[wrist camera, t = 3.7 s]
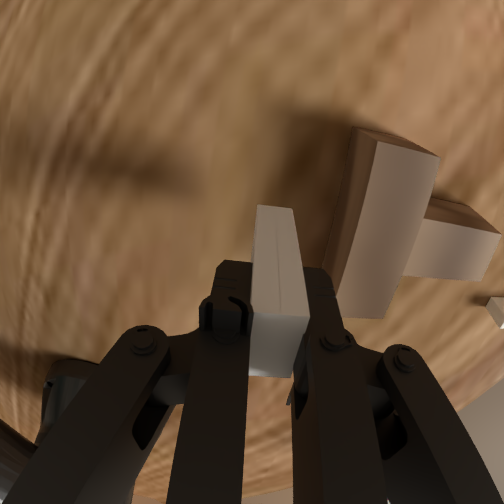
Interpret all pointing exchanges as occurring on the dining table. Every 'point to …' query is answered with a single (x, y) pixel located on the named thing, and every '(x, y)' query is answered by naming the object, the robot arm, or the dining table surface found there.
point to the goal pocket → (496, 310)
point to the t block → (398, 226)
